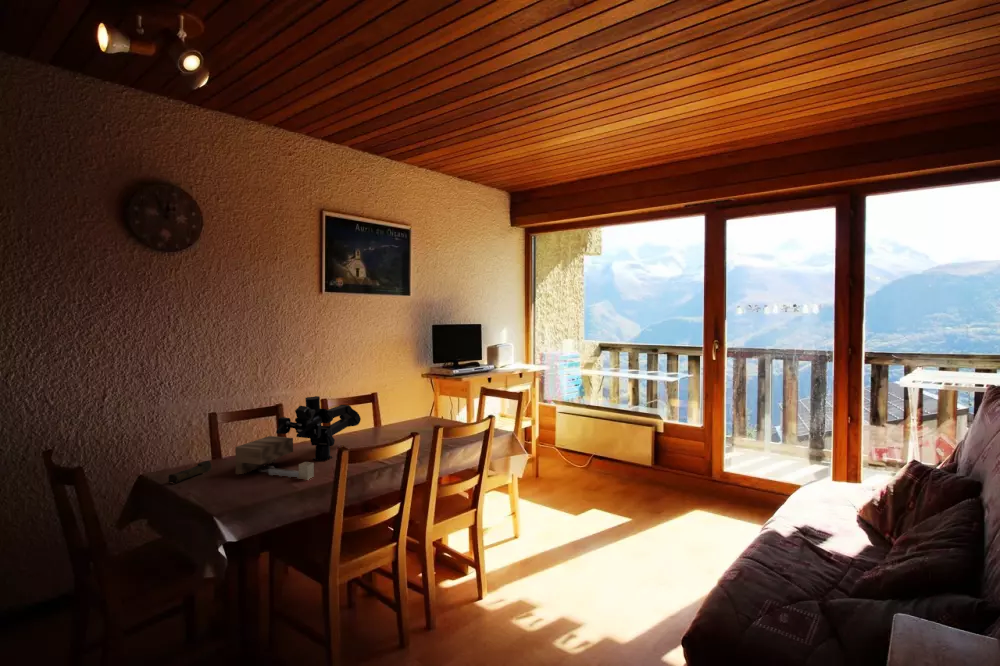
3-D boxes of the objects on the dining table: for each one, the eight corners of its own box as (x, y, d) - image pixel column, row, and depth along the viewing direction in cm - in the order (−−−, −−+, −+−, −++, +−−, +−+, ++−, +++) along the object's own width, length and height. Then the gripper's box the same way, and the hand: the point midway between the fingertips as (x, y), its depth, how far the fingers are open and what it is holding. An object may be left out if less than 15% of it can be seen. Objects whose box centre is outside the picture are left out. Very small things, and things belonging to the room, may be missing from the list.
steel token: (265, 468, 226) (265, 464, 226) (277, 469, 224) (277, 466, 224) (254, 472, 220) (254, 468, 220) (267, 473, 218) (267, 470, 218)
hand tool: (175, 485, 203) (175, 473, 202) (167, 484, 204) (167, 472, 204) (216, 471, 221) (216, 460, 220) (208, 470, 222) (209, 459, 222)
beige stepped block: (269, 460, 236) (269, 435, 235) (293, 463, 232) (293, 438, 232) (235, 474, 216) (235, 447, 216) (260, 477, 213) (260, 449, 213)
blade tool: (273, 472, 219) (273, 458, 218) (313, 477, 214) (313, 462, 213) (266, 475, 215) (266, 461, 215) (307, 480, 210) (307, 465, 209)
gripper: (290, 401, 231) (266, 411, 216) (329, 407, 226) (307, 418, 211) (290, 426, 232) (266, 437, 217) (329, 433, 228) (307, 445, 213)
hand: (286, 434), depth 215 cm, fingers open, 9 cm apart
